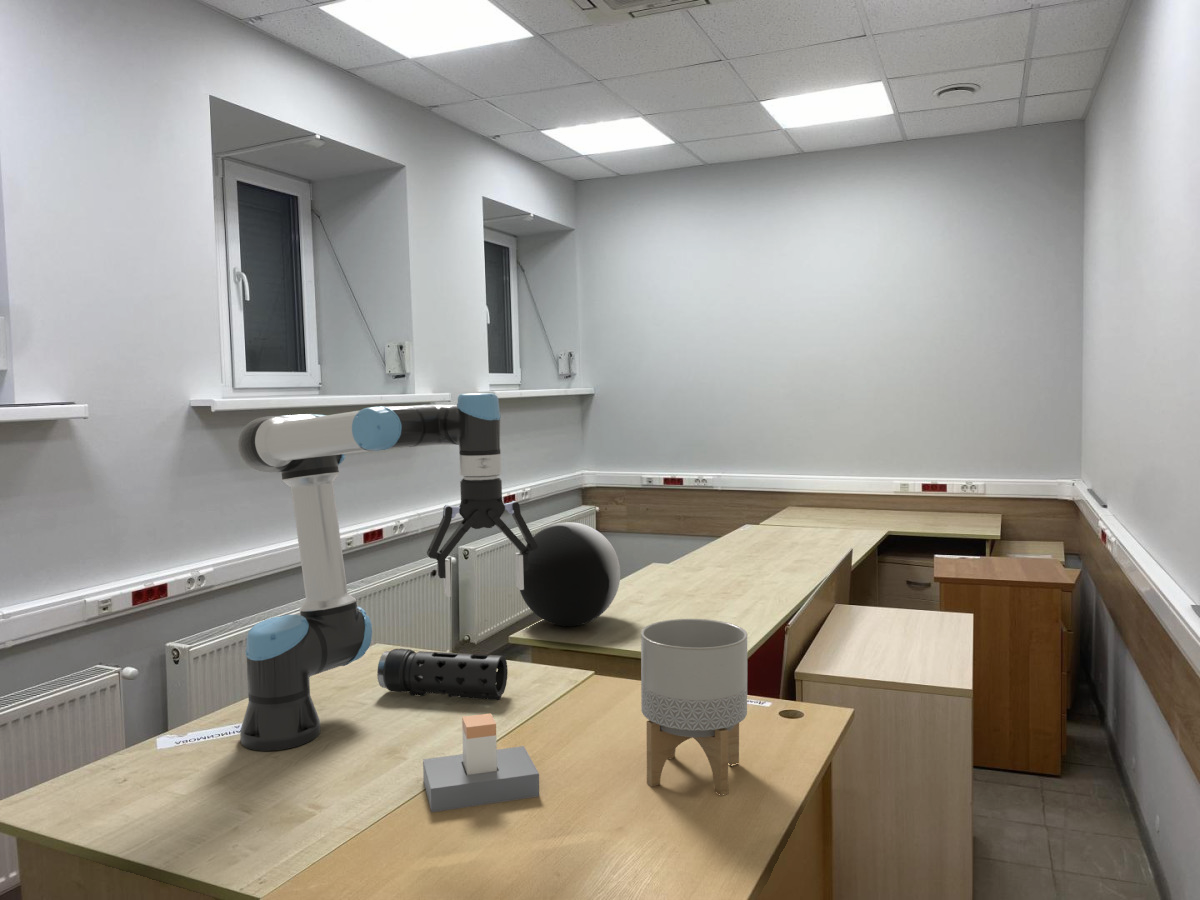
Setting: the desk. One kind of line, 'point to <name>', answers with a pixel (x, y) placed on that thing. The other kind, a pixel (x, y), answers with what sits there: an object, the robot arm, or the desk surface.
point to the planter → (693, 692)
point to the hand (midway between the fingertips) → (484, 592)
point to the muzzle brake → (443, 673)
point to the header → (479, 781)
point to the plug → (479, 744)
